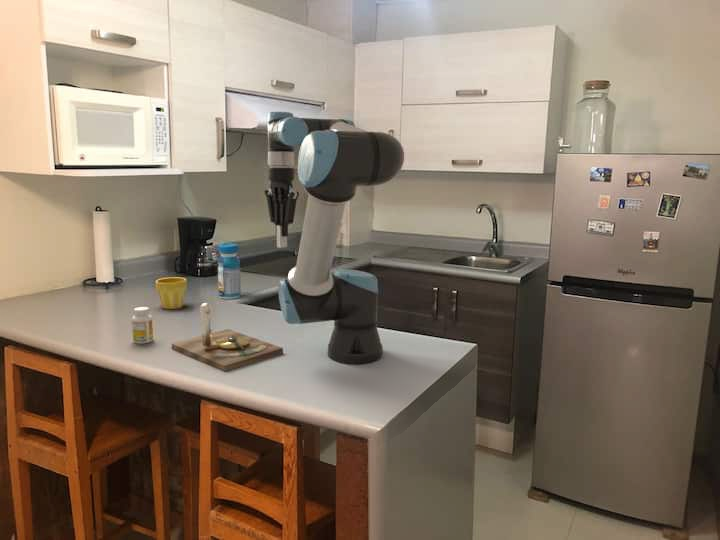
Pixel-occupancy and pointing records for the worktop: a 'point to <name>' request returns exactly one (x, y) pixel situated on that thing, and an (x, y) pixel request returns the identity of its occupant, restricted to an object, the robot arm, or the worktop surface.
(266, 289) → the worktop surface
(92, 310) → the worktop surface
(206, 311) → the dial
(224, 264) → the beverage bottle
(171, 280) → the plant pot
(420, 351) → the worktop surface
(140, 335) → the supplement bottle
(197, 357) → the gauge board
